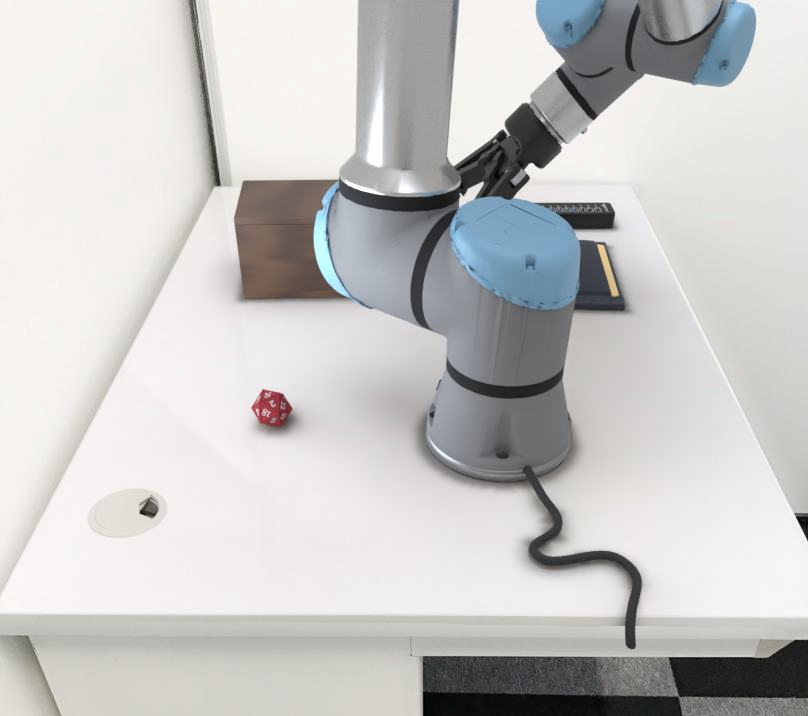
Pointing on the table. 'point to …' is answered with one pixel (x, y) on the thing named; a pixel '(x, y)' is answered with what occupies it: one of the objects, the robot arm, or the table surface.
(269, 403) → the dice
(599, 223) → the multiport hub
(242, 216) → the brown wooden box
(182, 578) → the table surface
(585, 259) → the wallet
